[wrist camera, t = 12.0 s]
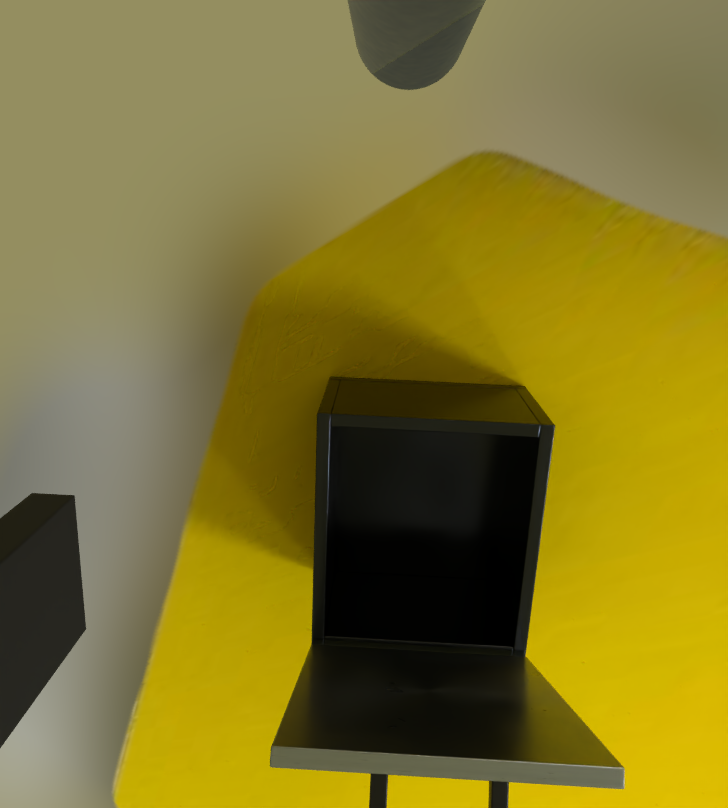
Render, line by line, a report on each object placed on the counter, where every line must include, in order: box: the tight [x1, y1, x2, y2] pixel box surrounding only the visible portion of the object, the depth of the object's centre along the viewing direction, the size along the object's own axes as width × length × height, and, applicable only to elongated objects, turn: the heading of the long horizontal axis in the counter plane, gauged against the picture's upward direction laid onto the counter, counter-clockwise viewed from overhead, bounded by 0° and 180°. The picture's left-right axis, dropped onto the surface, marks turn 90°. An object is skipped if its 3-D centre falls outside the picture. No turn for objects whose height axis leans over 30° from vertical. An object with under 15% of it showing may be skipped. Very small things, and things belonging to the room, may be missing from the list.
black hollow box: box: [312, 377, 555, 657], centre depth 45 cm, size 16×14×9 cm
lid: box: [270, 645, 624, 808], centre depth 34 cm, size 17×14×7 cm
